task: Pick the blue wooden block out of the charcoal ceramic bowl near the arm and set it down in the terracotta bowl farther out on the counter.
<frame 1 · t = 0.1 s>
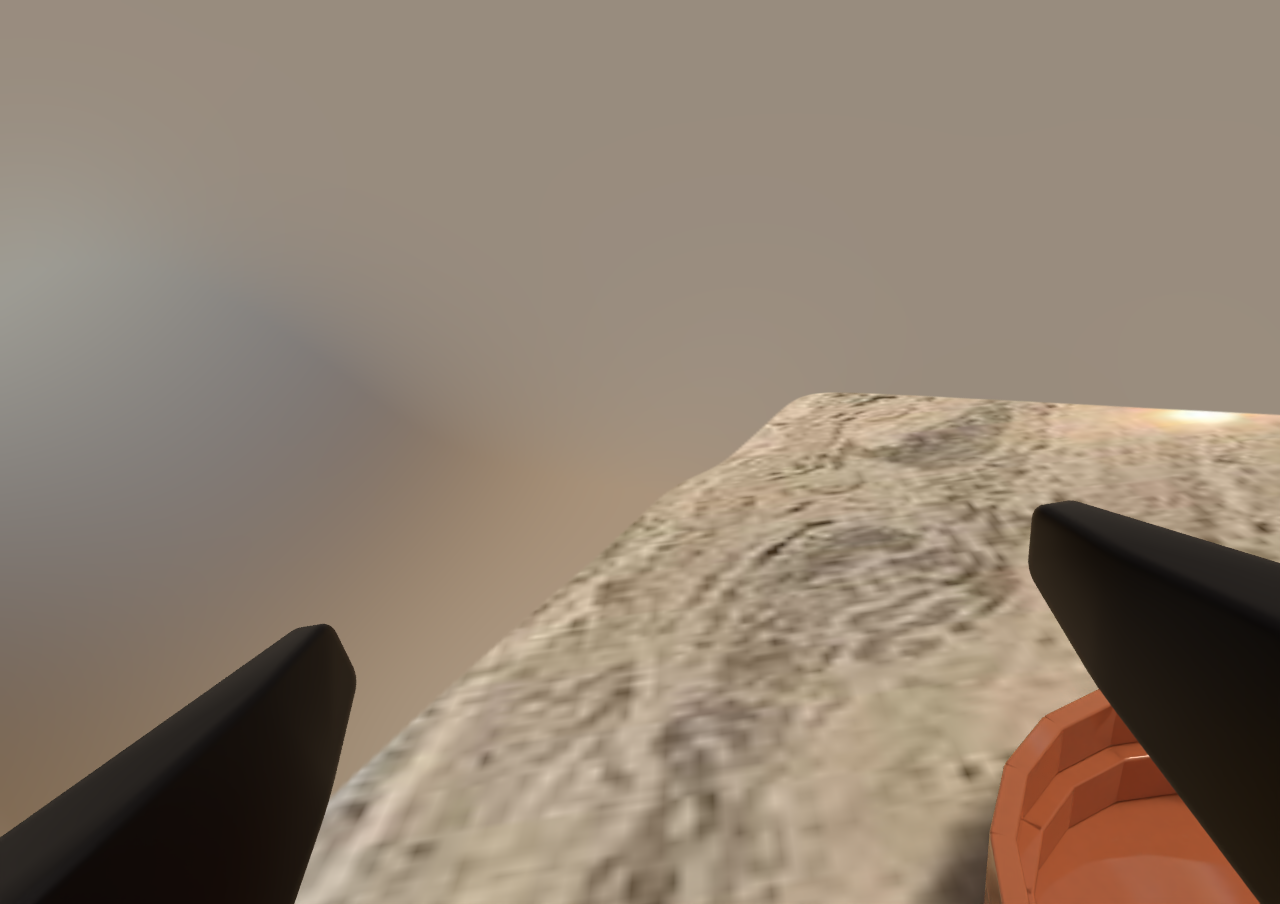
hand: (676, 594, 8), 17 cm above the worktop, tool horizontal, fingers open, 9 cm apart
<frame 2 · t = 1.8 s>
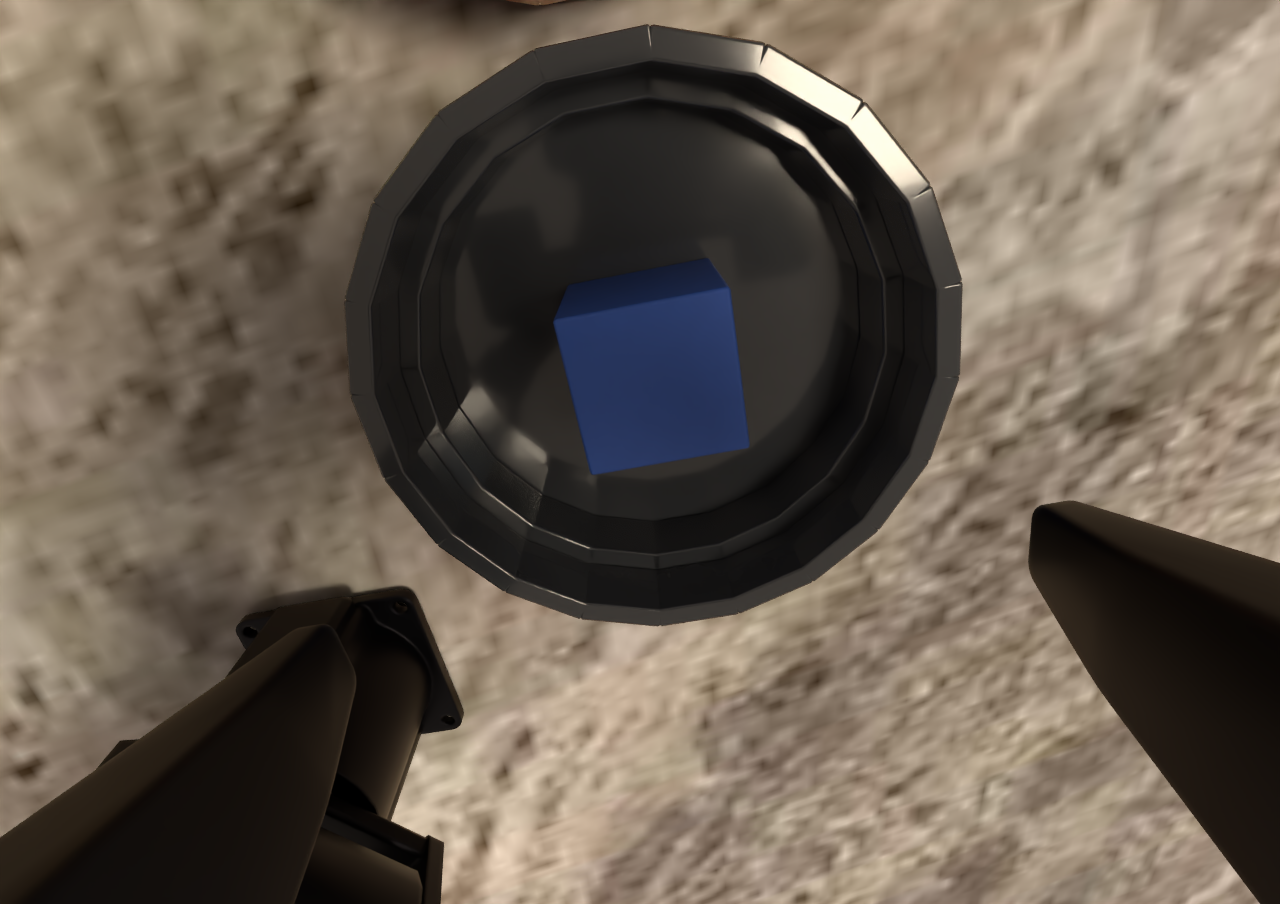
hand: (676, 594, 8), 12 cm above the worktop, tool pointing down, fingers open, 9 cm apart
blue block: (650, 340, 19), point 1 cm above the worktop, touching charcoal bowl
charcoal bowl: (649, 334, 19), on the worktop
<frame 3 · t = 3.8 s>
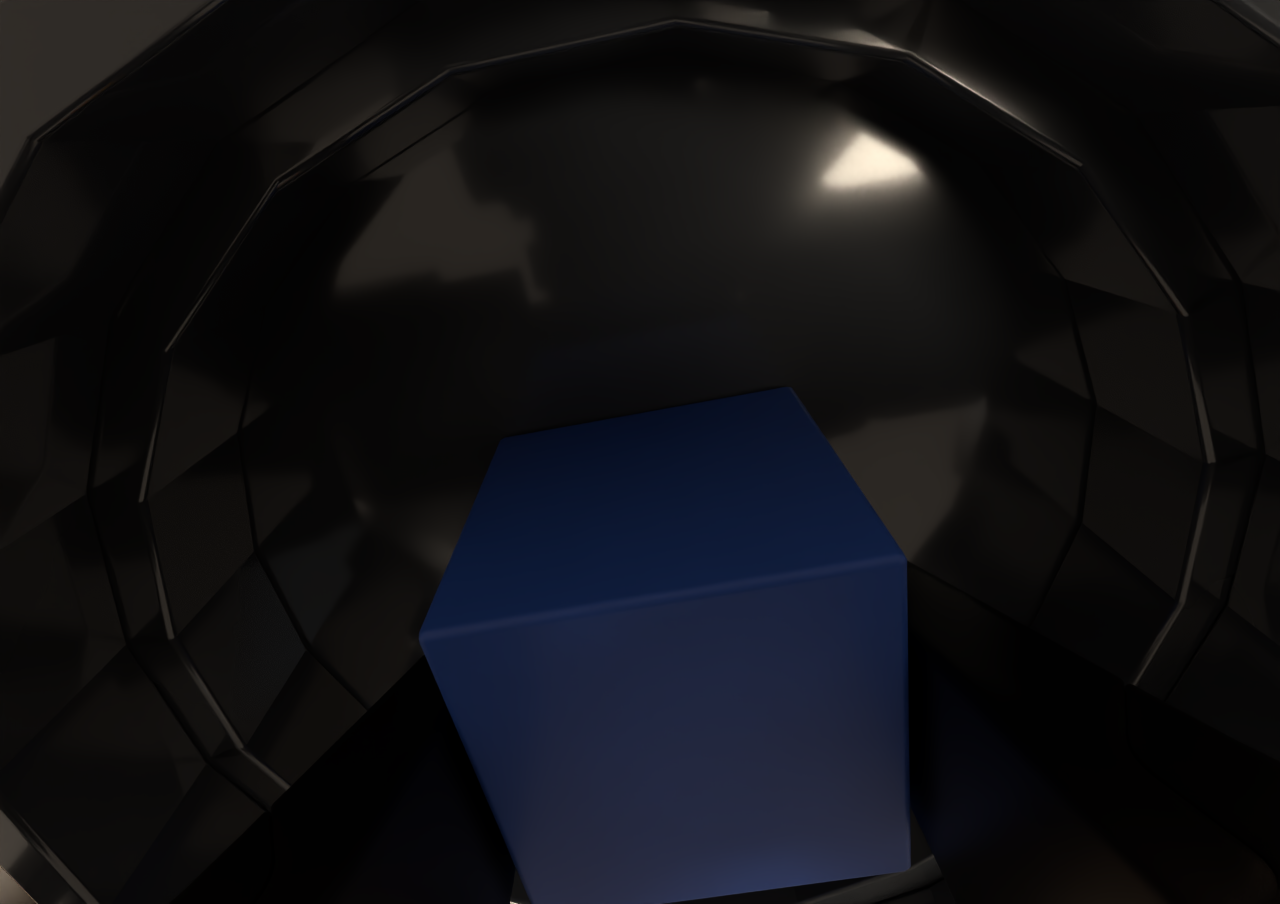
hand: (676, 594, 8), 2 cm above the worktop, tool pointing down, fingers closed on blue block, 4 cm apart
blue block: (668, 534, 10), point 1 cm above the worktop, touching charcoal bowl, gripper
charcoal bowl: (667, 513, 10), on the worktop
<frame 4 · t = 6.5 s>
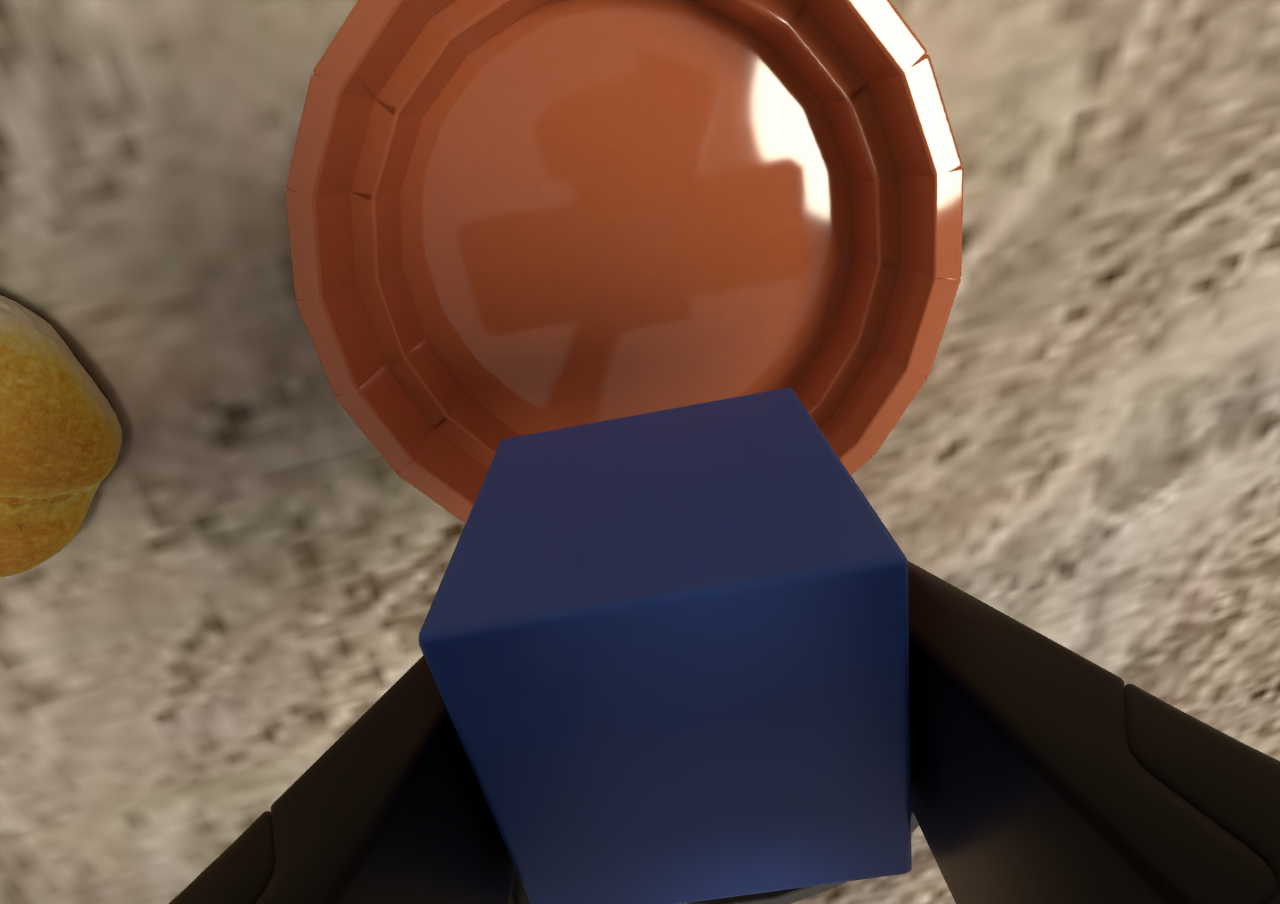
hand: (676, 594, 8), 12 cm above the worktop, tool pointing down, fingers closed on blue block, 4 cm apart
terracotta bowl: (628, 257, 18), on the worktop
blue block: (668, 535, 10), point 11 cm above the worktop, touching gripper
charcoal bowl: (707, 673, 25), on the worktop
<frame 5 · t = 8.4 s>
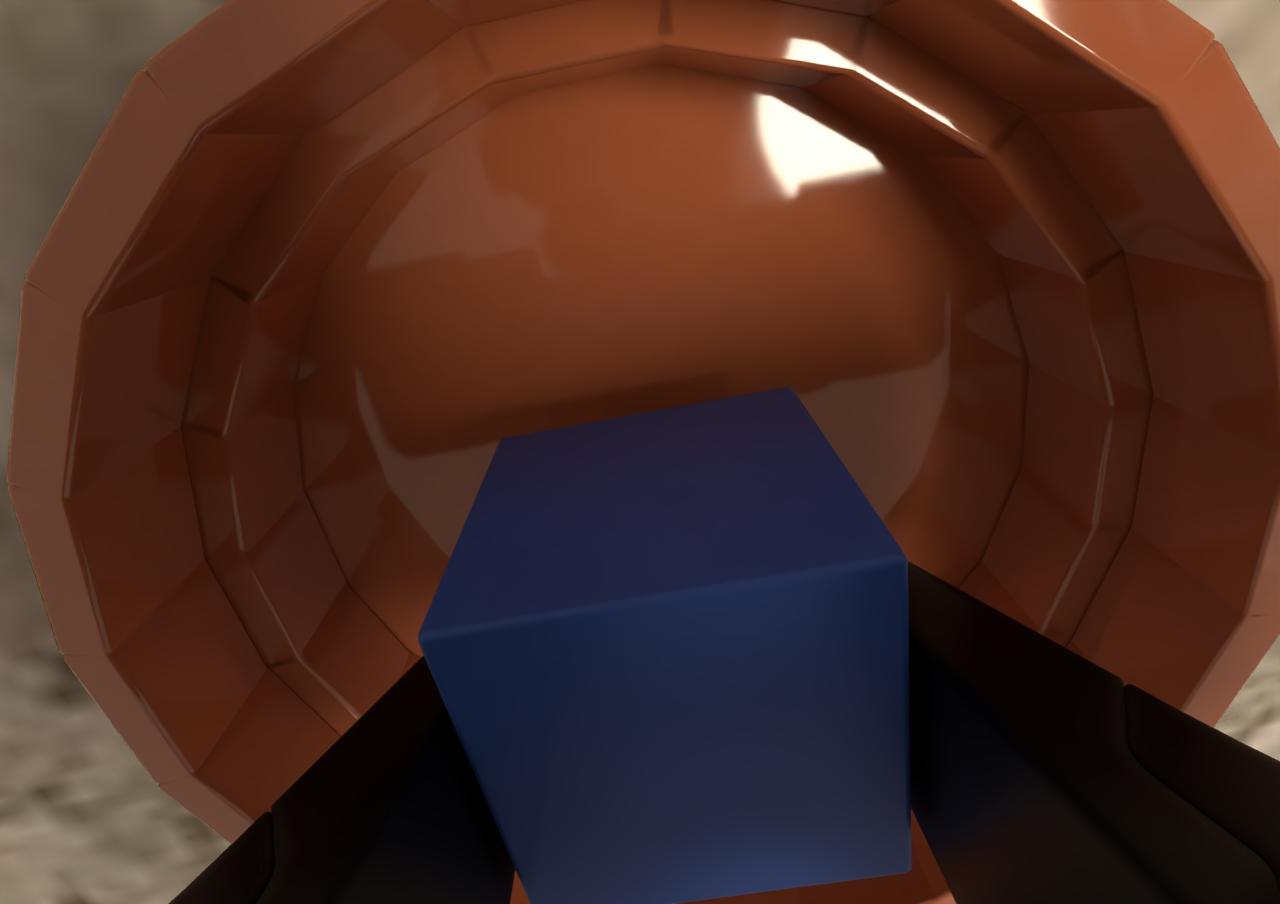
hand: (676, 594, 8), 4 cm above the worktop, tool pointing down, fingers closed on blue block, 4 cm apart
terracotta bowl: (661, 462, 12), on the worktop
blue block: (668, 534, 10), point 2 cm above the worktop, touching gripper
when the fingers open (2 cm above the worktop, at t = 9.3 s): blue block stays where it is, resting on terracotta bowl.
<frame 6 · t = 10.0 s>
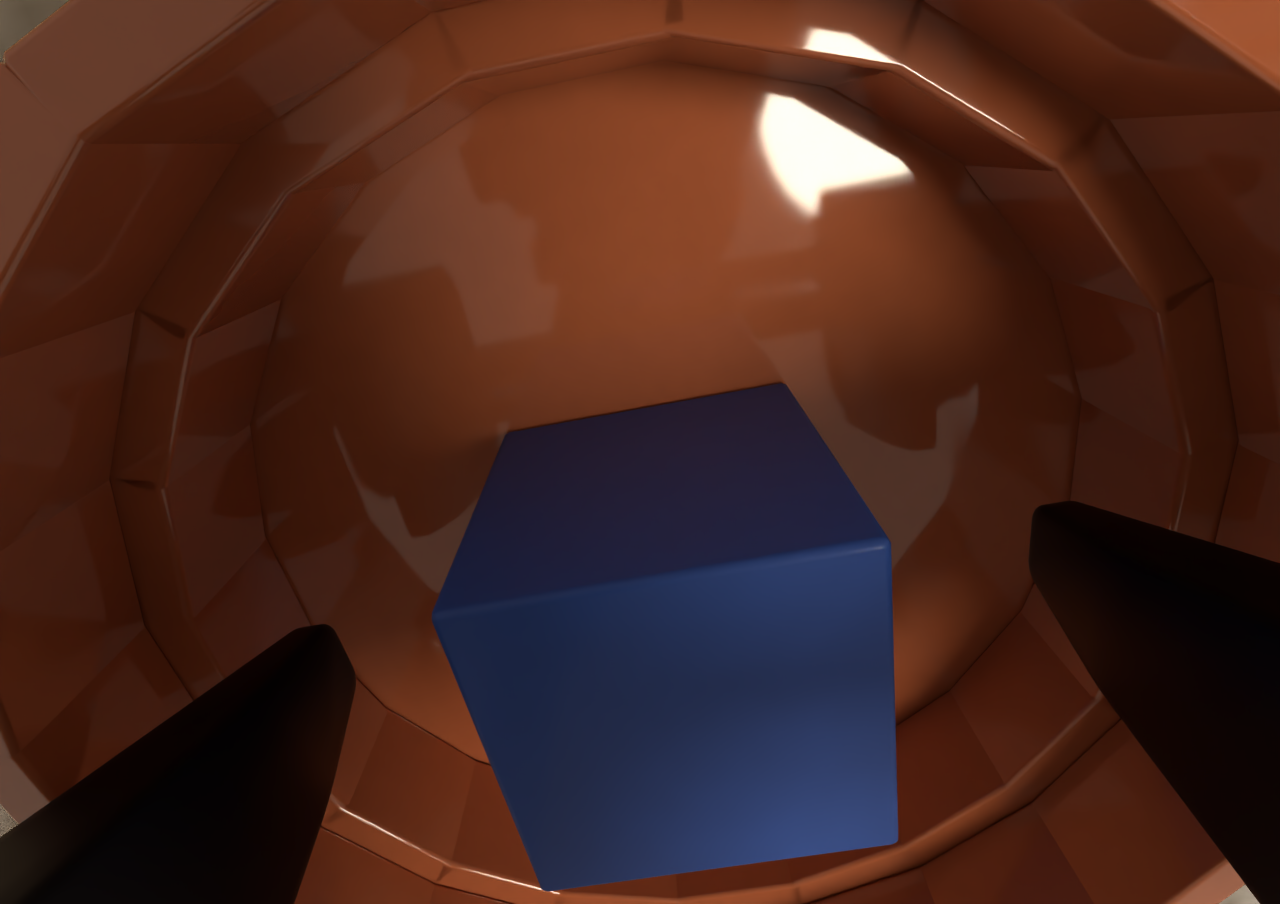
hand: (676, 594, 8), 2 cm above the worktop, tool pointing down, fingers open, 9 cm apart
terracotta bowl: (666, 504, 10), on the worktop
blue block: (667, 526, 10), point 1 cm above the worktop, touching terracotta bowl
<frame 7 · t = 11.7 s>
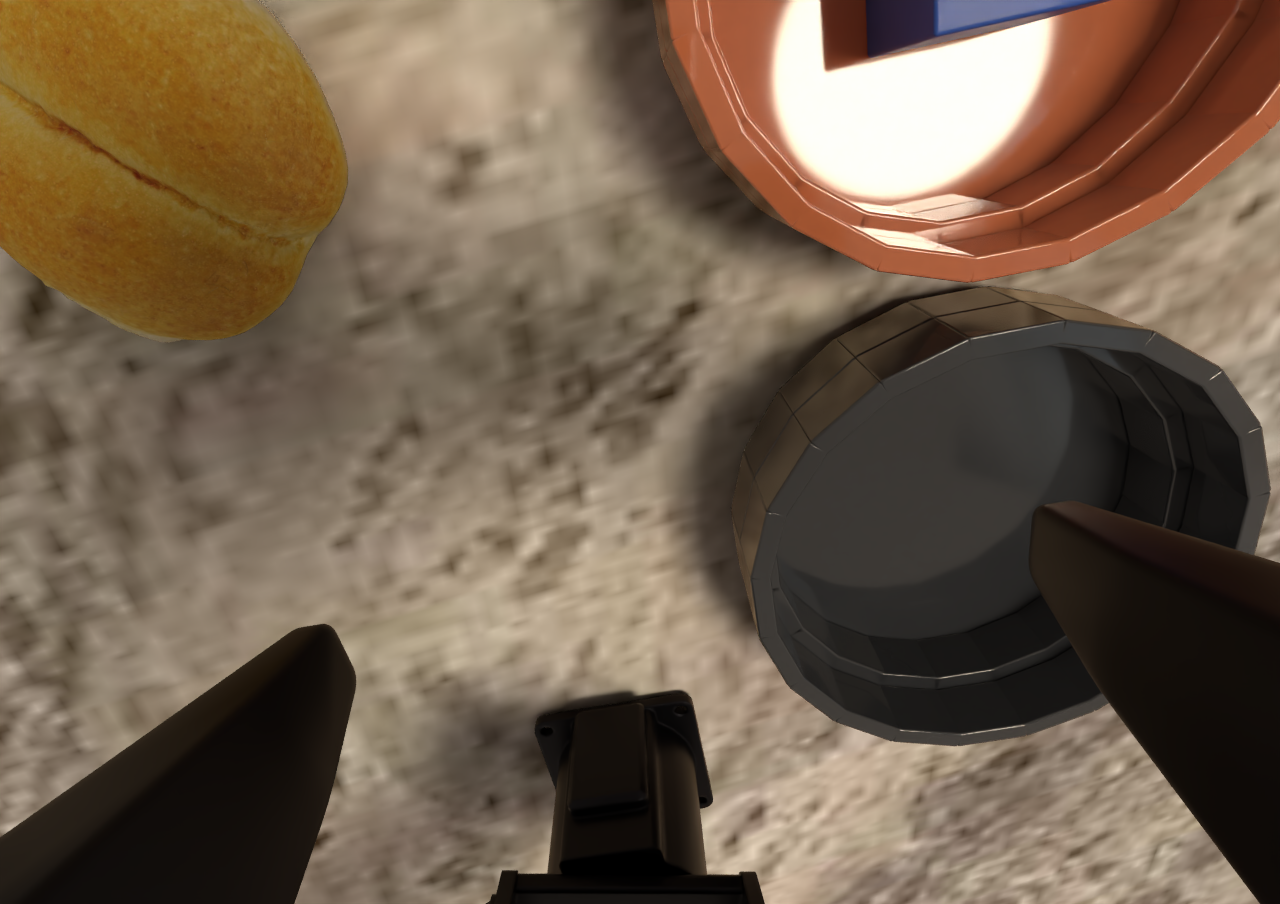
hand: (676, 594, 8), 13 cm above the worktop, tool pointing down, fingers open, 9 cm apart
bread roll: (194, 162, 18), on the worktop
charcoal bowl: (935, 491, 23), on the worktop
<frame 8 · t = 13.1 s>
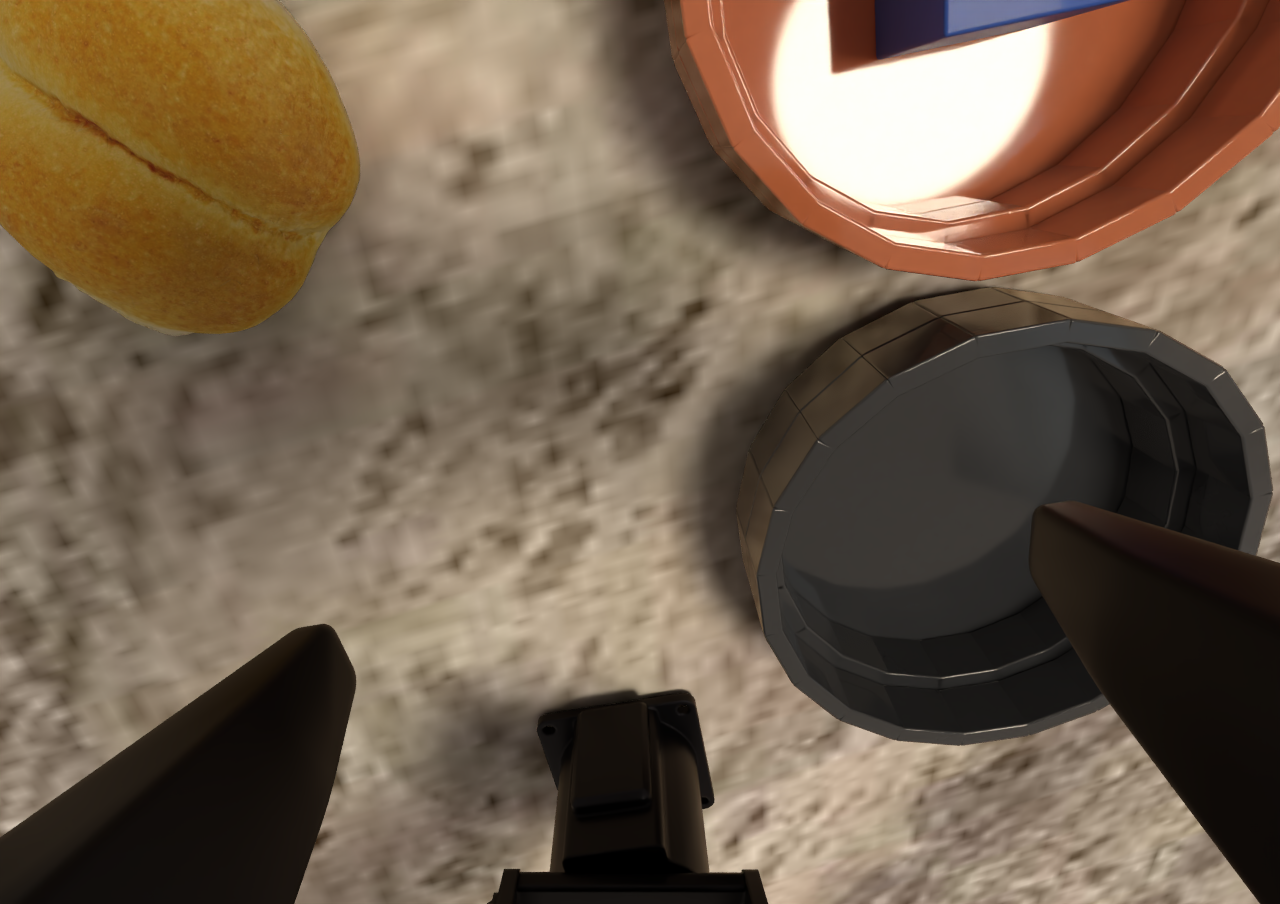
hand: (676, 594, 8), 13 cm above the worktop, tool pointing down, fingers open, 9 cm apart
bread roll: (206, 157, 18), on the worktop
charcoal bowl: (938, 491, 23), on the worktop
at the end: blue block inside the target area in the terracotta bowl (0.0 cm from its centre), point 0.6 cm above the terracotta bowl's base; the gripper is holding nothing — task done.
